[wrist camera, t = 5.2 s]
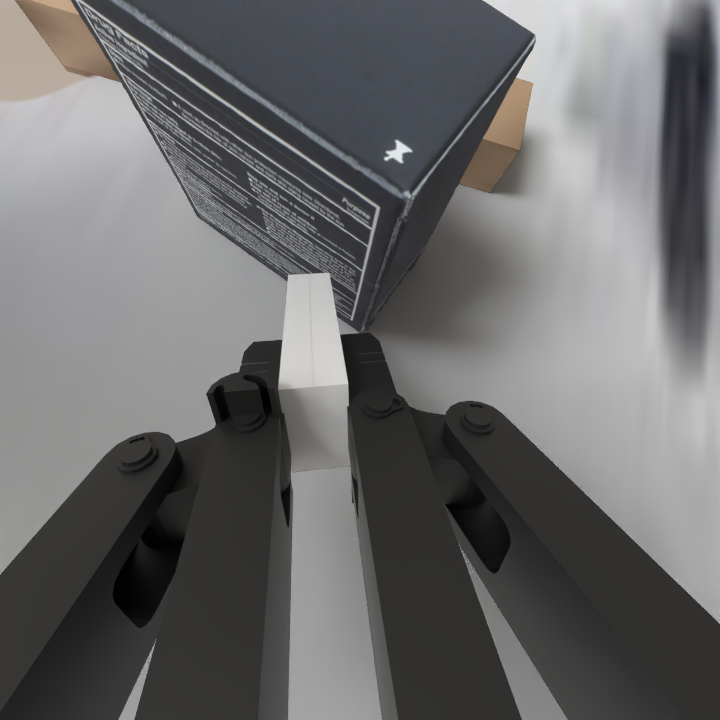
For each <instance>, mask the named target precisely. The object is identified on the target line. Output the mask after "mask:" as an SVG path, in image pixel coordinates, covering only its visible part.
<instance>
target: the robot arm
mask: <svg viewBox="0 0 720 720" xmlns="http://www.w3.org/2000/svg"><path fill="white" fill-rule="evenodd" d="M206 394H207V397H208V400H209V403H210V406H211V409H212V412H213V415H214V418H215V421H216V426H215V428H213V429H212V430H210V431H208V432H206V433H204V434H201V435H199V436H196V437H193V438H190V439H187V440H184V441H181V442H178V443H175V441H174V440H173V439H172V438H171V437H170V436H169V435H168V434H164V433H160V432H149V433H143V434H139V435H136V436H133V437H130V438H128V439H127V440H125V441H123V442H121V443H119V444H117V445H116V446H115V447H114V448H113V449H112V450H111V451H109V452H108V453H107V454H106V455H105V456H104V457H103V459H102V460H101V461H100V462H99V463H98V464H97V465H96V466H95V468H94V469H93V470H92V471H91V472H90V473H89V474H88V476H87V477H86V478H85V479H84V480H83V481H82V482H81V484H80V485H79V486H78V487H77V488H76V489H75V490H74V492H73V493H72V494H71V495H70V496H69V497H68V498H67V500H66V501H65V502H64V503H63V504H62V505H61V506H60V507H59V509H58V510H57V511H56V512H55V513H54V514H53V515H52V517H51V518H50V519H49V520H48V521H47V522H46V523H45V525H44V526H43V527H42V528H41V529H40V530H39V531H38V533H37V534H36V535H35V536H34V537H33V538H32V539H31V540H30V542H29V543H28V544H27V545H26V546H25V547H24V548H23V550H22V551H21V552H20V553H19V554H18V555H17V556H16V558H15V559H14V560H13V561H12V562H11V563H10V564H9V566H8V567H7V568H6V569H5V570H4V571H3V572H2V573H1V575H0V720H118V719H119V717H120V715H121V713H122V710H123V708H124V706H125V704H126V702H127V700H128V698H129V696H130V694H131V691H132V689H133V687H134V685H135V683H136V681H137V679H138V677H139V675H140V672H141V670H142V668H143V666H144V664H145V662H146V660H147V658H148V656H149V653H150V651H151V649H152V647H153V645H154V643H155V641H156V644H155V647H154V651H153V654H152V658H151V662H150V665H149V669H148V673H147V676H146V680H145V683H144V687H143V691H142V694H141V698H140V702H139V705H138V709H137V712H136V716H135V720H288V687H289V642H290V598H291V553H292V508H293V490H292V484H291V467H292V472H299V471H308V470H318V469H327V468H336V467H345V466H350V465H351V477H352V503H354V506H355V514H356V522H357V530H358V537H359V545H360V553H361V560H362V568H363V576H364V583H365V591H366V599H367V607H368V614H369V622H370V630H371V637H372V645H373V653H374V660H375V668H376V676H377V684H378V691H379V699H380V707H381V714H382V720H522V719H521V716H520V714H519V711H518V708H517V705H516V703H515V700H514V697H513V694H512V691H511V689H510V686H509V683H508V680H507V678H506V675H505V672H504V669H503V666H502V664H501V661H500V658H499V655H498V653H497V650H496V647H495V644H494V642H493V639H492V636H491V633H490V630H489V628H488V625H487V622H486V619H485V617H484V614H483V611H482V608H481V605H480V603H479V600H478V597H477V594H476V592H475V589H474V586H473V583H472V580H471V578H470V575H469V572H468V569H467V567H466V564H465V561H464V558H463V555H462V553H461V550H460V547H459V545H460V546H461V548H462V549H463V551H464V553H465V554H466V556H467V557H468V559H469V561H470V562H471V564H472V566H473V567H474V569H475V570H476V572H477V574H478V575H479V577H480V578H481V580H482V582H483V583H484V585H485V587H486V588H487V590H488V591H489V593H490V595H491V596H492V598H493V599H494V601H495V603H496V604H497V606H498V608H499V609H500V611H501V612H502V614H503V616H504V617H505V619H506V620H507V622H508V624H509V625H510V627H511V628H512V630H513V632H514V633H515V635H516V637H517V638H518V640H519V641H520V643H521V645H522V646H523V648H524V649H525V651H526V653H527V654H528V656H529V658H530V659H531V661H532V662H533V664H534V666H535V667H536V669H537V670H538V672H539V674H540V675H541V677H542V679H543V680H544V682H545V683H546V685H547V687H548V688H549V690H550V691H551V693H552V695H553V696H554V698H555V699H556V701H557V703H558V704H559V706H560V708H561V709H562V711H563V712H564V714H565V716H566V717H567V719H568V720H720V624H719V623H718V622H717V621H716V620H715V619H714V618H713V617H712V616H711V615H710V614H709V613H708V612H707V611H706V610H705V609H704V608H703V607H702V606H701V605H700V604H699V603H697V602H696V601H695V600H694V599H693V598H692V597H691V596H690V595H689V594H688V593H687V592H686V591H685V590H684V589H683V588H682V587H681V586H680V585H679V584H678V583H677V582H676V581H675V580H674V579H673V578H672V577H671V576H670V575H669V574H667V573H666V572H665V571H664V570H663V569H662V568H661V567H660V566H659V565H658V564H657V563H656V562H655V561H654V560H653V559H652V558H651V557H650V556H649V555H648V554H647V553H646V552H645V551H644V550H643V549H642V548H641V547H640V546H639V545H638V544H636V543H635V542H634V541H633V540H632V539H631V538H630V537H629V536H628V535H627V534H626V533H625V532H624V531H623V530H622V529H621V528H620V527H619V526H618V525H617V524H616V523H615V522H614V521H613V520H612V519H611V518H610V517H609V516H608V515H606V514H605V513H604V512H603V511H602V510H601V509H600V508H599V507H598V506H597V505H596V504H595V503H594V502H593V501H592V500H591V499H590V498H589V497H588V496H587V495H586V494H585V493H584V492H583V491H582V490H581V489H580V488H579V487H578V486H577V485H575V484H574V483H573V482H572V481H571V480H570V479H569V478H568V477H567V476H566V475H565V474H564V473H563V472H562V471H561V470H560V469H559V468H558V467H557V466H556V465H555V464H554V463H553V462H552V461H551V460H550V459H549V458H548V457H547V456H545V455H544V454H543V453H542V452H541V451H540V450H539V449H538V448H537V447H536V446H535V445H534V444H533V443H532V442H531V441H530V440H529V439H528V438H527V437H526V436H525V435H524V434H523V433H522V432H521V431H520V430H519V429H518V428H517V427H516V426H514V425H513V424H512V423H511V422H510V421H509V420H508V419H507V418H506V417H505V416H504V415H503V414H502V413H501V412H499V411H498V410H496V409H495V408H494V407H492V406H489V405H487V404H484V403H481V402H474V401H465V402H458V403H456V404H454V405H452V406H451V407H450V408H449V409H448V411H447V412H446V415H441V414H434V413H427V412H423V411H419V410H416V409H414V408H411V407H410V406H408V404H407V402H406V401H405V399H404V398H403V397H401V396H400V395H398V394H397V393H396V390H395V387H394V384H393V381H392V378H391V375H390V372H389V369H388V366H387V363H386V362H385V357H384V354H383V352H382V348H381V345H380V342H379V340H377V339H376V338H375V337H374V336H373V335H372V334H370V333H358V334H344V335H340V332H339V326H338V320H337V315H336V309H335V303H334V297H333V291H332V285H331V279H330V273H316V274H296V275H288V283H287V294H286V306H285V317H284V328H283V340H274V341H260V342H253V343H252V344H251V345H250V346H249V347H248V348H247V349H246V351H245V352H244V355H243V359H242V365H241V367H240V371H239V372H238V373H233V374H230V375H228V376H226V377H223V378H221V379H220V380H218V381H217V382H216V383H214V384H213V385H212V386H211V387H210V389H209V390H208V392H207V393H206ZM457 541H458V542H457ZM458 543H459V544H458ZM156 639H157V640H156Z"/></svg>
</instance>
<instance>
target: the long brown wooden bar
mask: <svg viewBox="0 0 720 720" xmlns="http://www.w3.org/2000/svg"><path fill="white" fill-rule="evenodd" d="M15 1H16V2H17V4H18V5H19V6H20V8H21V9H22V10H23V12H24V13H25V14H26V16H27V17H28V19H29V20H30V21H31V23H32V24H33V25H34V27H35V28H36V29H37V31H38V32H39V34H40V35H41V36H42V38H43V39H44V40H45V42H46V43H47V44H48V46H49V47H50V49H51V50H52V51H53V53H54V54H55V55H56V57H57V58H58V59H59V61H60V62H61V64H62V65H63V66H64V68H65V69H66V70H67V71H68V72H71V73H75V74H78V75H81V76H85V77H88V78H90V77H93V76H97V75H98V76H102V77H105V78H108V79H112V80H115V81H118V82H121V80H120V79H119V78H118V76H117V75H116V73H115V72H114V70H113V69H112V66H111V64H110V62H109V61H108V60H107V58H106V57H105V55H104V53H103V51H102V50H101V48H100V46H99V45H98V43H97V41H96V40H95V38H94V36H93V35H92V34H91V33H90V31H89V29H88V28H87V26H86V24H85V23H84V21H83V20H82V18H81V17H80V15H79V13H78V12H77V10H76V8H75V7H74V5H73V4H72V2H71V0H15ZM532 86H533V83H531V82H528V81H524V80H521V79H518V78H515V80H514V82H513V84H512V85H511V87H510V89H509V90H508V92H507V94H506V96H505V98H504V100H503V102H502V104H501V106H500V108H499V109H498V111H497V113H496V115H495V117H494V119H493V121H492V123H491V125H490V127H489V128H488V130H487V132H486V134H485V135H484V137H483V139H482V141H481V143H480V145H479V147H478V149H477V151H476V152H475V154H474V156H473V158H472V160H471V162H470V163H469V165H468V167H467V169H466V171H465V173H464V175H463V177H462V179H461V180H460V182H459V184H462V185H465V186H468V187H472V188H475V189H478V190H482V191H485V192H488V193H490V192H491V191H492V189H493V188H494V186H495V185H496V183H497V182H498V181H499V179H500V178H501V176H502V175H503V173H504V172H505V171H506V169H507V168H508V166H509V165H510V164H511V162H512V161H513V159H514V158H515V156H516V155H517V154H518V152H519V151H520V147H521V142H522V137H523V132H524V127H525V122H526V116H527V111H528V106H529V101H530V96H531V91H532Z"/></svg>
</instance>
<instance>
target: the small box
mask: <svg viewBox="0 0 720 720" xmlns="http://www.w3.org/2000/svg"><path fill="white" fill-rule="evenodd" d="M71 2H72V4H73V5H74V7H75V8H76V10H77V12H78V13H79V15H80V17H81V18H82V20H83V21H84V23H85V24H86V26H87V28H88V29H89V31H90V33H91V34H92V35H93V36H94V38H95V40H96V41H97V43H98V45H99V46H100V48H101V50H102V51H103V53H104V55H105V57H106V58H107V60H108V61H109V62H110V64H111V66H112V69H113V70H114V72H115V73H116V75H117V76H118V78H119V79H120V80H121V83H122V85H123V87H124V88H125V90H126V91H127V93H128V95H129V97H130V99H131V101H132V103H133V104H134V106H135V108H136V109H137V111H138V112H139V114H140V116H141V118H142V119H143V121H144V123H145V124H146V126H147V128H148V130H149V132H150V133H151V135H152V136H153V138H154V140H155V142H156V144H157V145H158V147H159V149H160V151H161V152H162V154H163V156H164V157H165V159H166V161H167V163H168V164H169V166H170V167H171V169H172V171H173V173H174V175H175V177H176V178H177V180H178V182H179V183H180V185H181V187H182V189H183V190H184V192H185V194H186V196H187V198H188V200H189V202H190V204H191V205H192V207H193V209H194V212H195V213H196V215H197V216H198V217H199V218H200V219H202V220H203V221H205V222H206V223H207V224H209V225H210V226H211V227H213V228H214V229H216V230H217V231H218V232H220V233H221V234H222V235H224V236H225V237H227V238H228V239H229V240H231V241H232V242H234V243H235V244H236V245H238V246H239V247H241V248H242V249H243V250H245V251H246V252H247V253H248V254H249V255H252V256H253V257H255V258H256V259H257V260H259V261H260V262H262V263H263V264H264V265H266V266H267V267H268V268H270V269H271V270H273V271H274V272H276V273H277V274H278V275H280V276H281V277H282V278H284V279H285V280H287V281H288V275H296V274H316V273H330V279H331V285H332V291H333V297H334V303H335V309H336V315H337V316H338V317H339V318H341V319H342V320H343V321H345V322H346V323H348V324H349V325H351V326H352V327H353V328H355V329H356V330H357V331H359V332H360V331H364V330H368V328H369V326H370V325H371V324H372V322H373V320H374V318H375V315H376V314H377V312H378V311H380V310H381V309H382V306H383V304H384V303H386V302H387V300H388V297H389V296H390V295H391V294H392V292H393V291H394V290H395V288H396V287H397V285H398V284H400V283H401V280H402V279H403V277H404V276H405V275H406V273H407V272H409V271H410V270H411V269H412V267H413V266H414V264H415V262H416V261H417V259H418V258H419V256H420V254H421V252H422V251H423V250H424V248H425V246H426V244H427V242H428V240H429V238H430V237H431V235H432V233H433V231H434V229H435V227H436V225H437V223H438V221H439V220H440V217H441V216H442V214H443V212H444V210H445V208H446V206H447V204H448V203H449V201H450V199H451V197H452V195H453V193H454V191H455V189H456V188H457V186H458V184H459V182H460V180H461V179H462V177H463V175H464V173H465V171H466V169H467V167H468V165H469V163H470V162H471V160H472V158H473V156H474V154H475V152H476V151H477V149H478V147H479V145H480V143H481V141H482V139H483V137H484V135H485V134H486V132H487V130H488V128H489V127H490V125H491V123H492V121H493V119H494V117H495V115H496V113H497V111H498V109H499V108H500V106H501V104H502V102H503V100H504V98H505V96H506V94H507V92H508V90H509V89H510V87H511V85H512V84H513V82H514V80H515V78H516V76H517V74H518V73H519V71H520V69H521V67H522V65H523V63H524V62H525V60H526V58H527V57H528V55H529V54H530V52H531V51H532V50H533V47H534V44H535V42H536V37H535V34H533V33H532V32H530V31H529V30H527V29H526V28H524V27H522V26H521V25H519V24H518V23H517V22H515V21H514V20H512V19H510V18H509V17H507V16H506V15H504V14H503V13H501V12H500V11H498V10H497V9H495V8H494V7H492V6H491V5H489V4H487V3H486V2H484V1H483V0H71Z"/></svg>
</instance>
